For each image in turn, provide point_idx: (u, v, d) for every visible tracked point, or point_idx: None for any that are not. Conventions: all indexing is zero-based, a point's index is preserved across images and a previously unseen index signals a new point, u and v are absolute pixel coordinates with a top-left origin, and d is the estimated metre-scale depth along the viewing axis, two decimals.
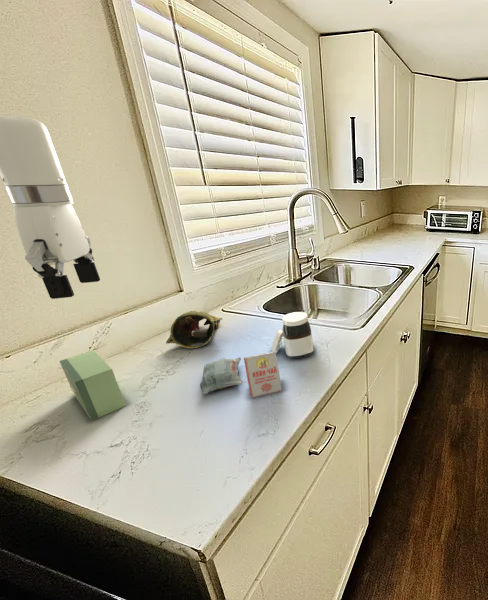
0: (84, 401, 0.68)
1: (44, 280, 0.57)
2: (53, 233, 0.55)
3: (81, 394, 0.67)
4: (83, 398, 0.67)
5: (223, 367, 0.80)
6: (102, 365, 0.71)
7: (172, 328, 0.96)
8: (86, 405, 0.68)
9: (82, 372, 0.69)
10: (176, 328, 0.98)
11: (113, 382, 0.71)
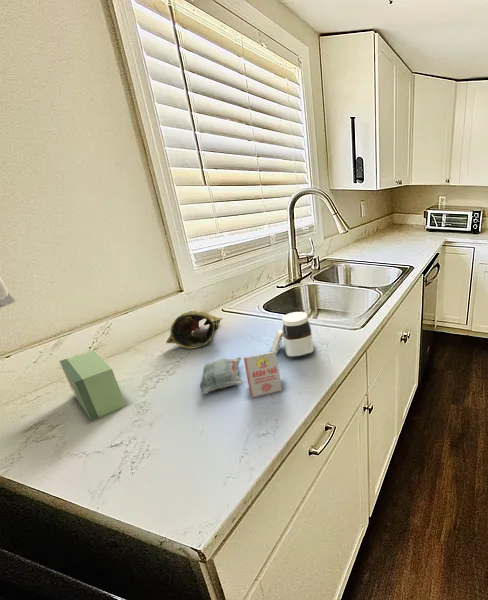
0: (84, 401, 0.68)
1: None
2: None
3: (81, 394, 0.67)
4: (83, 398, 0.67)
5: (223, 367, 0.80)
6: (102, 365, 0.71)
7: (172, 328, 0.96)
8: (86, 405, 0.68)
9: (82, 372, 0.69)
10: (176, 328, 0.98)
11: (113, 382, 0.71)
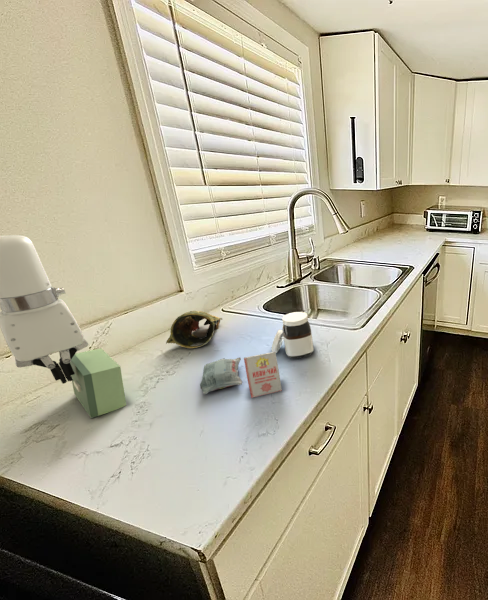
0: (88, 396, 0.68)
1: None
2: (9, 339, 0.61)
3: (87, 388, 0.67)
4: (88, 393, 0.68)
5: (223, 367, 0.80)
6: (111, 362, 0.72)
7: (172, 328, 0.96)
8: (89, 400, 0.68)
9: (90, 367, 0.70)
10: (176, 328, 0.98)
11: (119, 380, 0.72)
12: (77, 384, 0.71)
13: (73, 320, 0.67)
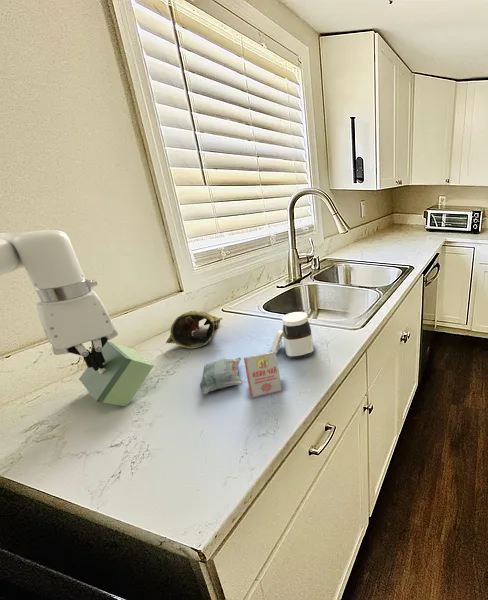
0: (112, 378, 0.71)
1: None
2: (48, 327, 0.65)
3: (117, 371, 0.71)
4: (115, 375, 0.71)
5: (223, 367, 0.80)
6: (145, 360, 0.78)
7: (172, 328, 0.96)
8: (109, 383, 0.70)
9: (129, 356, 0.75)
10: (176, 328, 0.98)
11: (142, 377, 0.75)
12: None
13: (105, 310, 0.71)
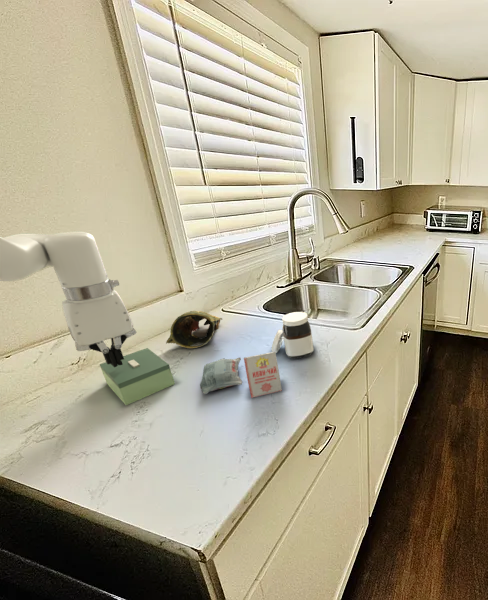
0: (145, 374, 0.76)
1: None
2: (72, 325, 0.67)
3: (154, 370, 0.77)
4: (149, 372, 0.76)
5: (223, 367, 0.80)
6: None
7: (172, 328, 0.96)
8: (140, 376, 0.75)
9: None
10: (176, 328, 0.98)
11: (160, 389, 0.79)
12: (137, 363, 0.79)
13: (125, 309, 0.74)
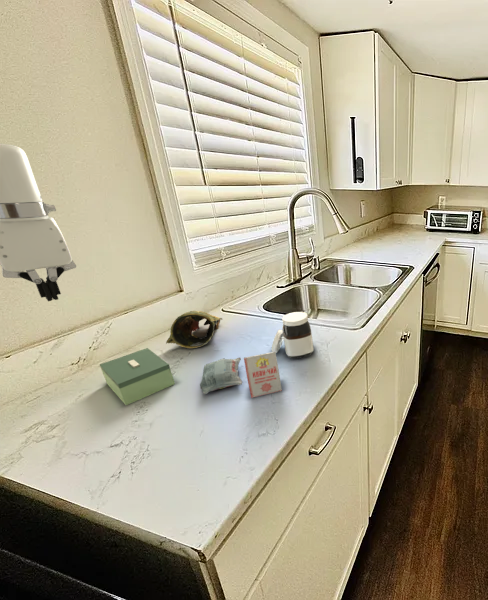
0: (145, 374, 0.76)
1: None
2: None
3: (154, 370, 0.77)
4: (149, 372, 0.76)
5: (223, 367, 0.80)
6: None
7: (172, 328, 0.96)
8: (140, 376, 0.75)
9: None
10: (176, 328, 0.98)
11: (160, 389, 0.79)
12: (137, 363, 0.79)
13: (62, 238, 0.68)
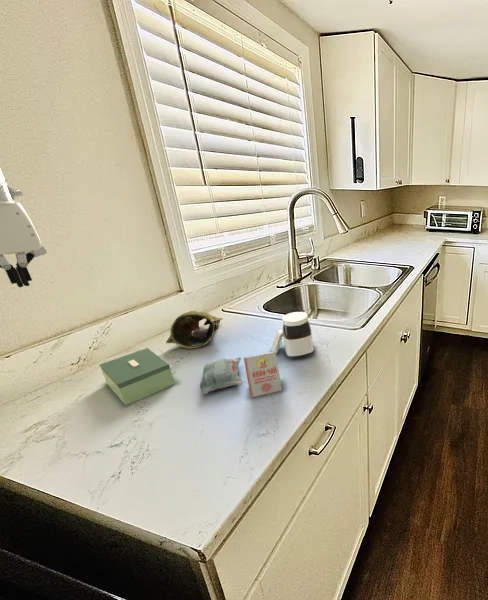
0: (145, 374, 0.76)
1: None
2: None
3: (154, 370, 0.77)
4: (149, 372, 0.76)
5: (223, 367, 0.80)
6: None
7: (172, 328, 0.96)
8: (140, 376, 0.75)
9: None
10: (176, 328, 0.98)
11: (160, 389, 0.79)
12: (137, 363, 0.79)
13: (30, 223, 0.68)
